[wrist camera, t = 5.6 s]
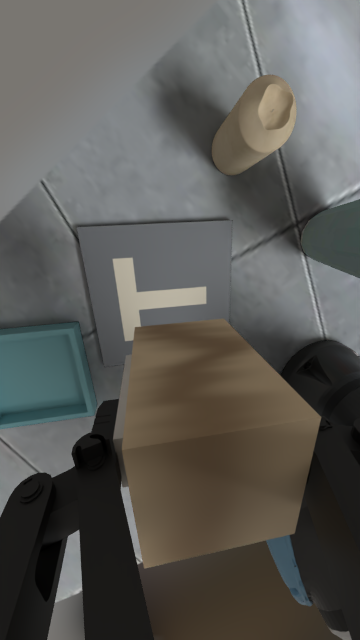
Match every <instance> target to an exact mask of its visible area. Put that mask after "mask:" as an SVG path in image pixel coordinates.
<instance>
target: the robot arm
mask: <svg viewBox="0 0 360 640" xmlns="http://www.w3.org/2000/svg"><path fill="white" fill-rule="evenodd" d="M131 358H132V355H126V358H125V365H124V371H123V378H122V384H121V391H120V397H119V399H115V400H108V401H103V403H102V404H101V405H100V407H99V408H98V410H97V414H96V418H95V421H94V425H93V428H92V432H91V433H88V434H86V435H84V436H83V437H81V438H80V439H79V440H78V441H77V442H76V444H75V445H74V447H73V449H72V457H73V460H74V463H75V466H74V467H73V468H72V469H70V470H68V471H66V472H64V473H62V474H60V475H57V476H55V477H53V478H52V477H51V475H49V474H47V473H37V474H34V475H32V476H30V477H28V478H27V479H25V480H24V481H22V482H21V483H20V484H19V485H18V486H17V487H16V488H15V489H14V491H13V492H12V494H11V496H10V497H9V499H8V502H7V504H6V506H5V508H4V510H3V513H2V515H1V517H0V640H47V637H48V632H49V627H50V622H51V617H52V613H53V608H54V603H55V598H56V593H57V588H58V583H59V578H60V573H61V568H62V563H63V558H64V553H65V548H66V543H67V538H68V536H69V535H71V534H72V533H74V532H76V531H77V530H79V531H80V551H81V570H82V590H83V610H84V629H85V640H154V637H153V633H152V629H151V624H150V620H149V615H148V611H147V606H146V602H145V597H144V593H143V588H142V584H141V579H140V575H139V571H138V567H137V562H136V557H135V553H134V548H133V544H132V539H131V535H130V530H129V526H128V522H127V517H126V513H125V508H124V504H123V499H122V495H121V490H120V489H121V482H122V486H123V487H127V486H128V481H127V475H126V470H125V465H124V459H123V454H122V442H123V433H124V424H125V414H126V405H127V396H128V386H129V377H130V367H131ZM281 377H282V378H283V379H284V380H285V381H286V382H287V383H288V384H289V385H290V386H291V387H292V388H293V389H294V390H295V391H296V392H297V393H298V394H299V395H300V396H301V397H302V398H303V399H304V400H305V401H306V402H307V403H308V404H309V405H310V406H311V407H312V408H313V409H314V410H315V411H316V412H317V413H318V414H319V415H320V416H321V421H320V425H319V429H318V434H317V438H316V443H315V447H314V451H313V456H312V460H311V464H310V469H309V473H308V477H307V482H306V486H305V490H304V495H303V499H302V503H301V508H300V512H299V517H298V521H297V525H296V530H295V534H291V535H287V536H282V537H278V538H274V539H269V540H266V541H267V544H268V546H269V549H270V551H271V554H272V556H273V559H274V561H275V563H276V565H277V568H278V570H279V572H280V574H281V576H282V578H283V580H284V582H285V583H286V585H287V586H288V587H289V589H290V591H291V594H292V595H293V596H294V598H295V599H296V600H297V602H299V603H300V604H302V605H308V606H311V605H312V604H313V602H314V603H315V604H316V606H317V607H318V609H319V611H320V613H321V615H322V617H323V618H324V620H325V622H326V624H327V625H328V628H329V629H330V631H331V632H332V633H333V634H335V635H337V636H338V637H340V638H342V639H343V640H360V357H359V355H358V354H357V353H356V352H355V351H353V350H352V349H350V348H349V347H347V346H345V345H343V344H341V343H339V342H335V341H320V342H316V343H313V344H311V345H309V346H307V347H305V348H303V349H302V350H300V351H299V352H298V353H297V354H295V355H294V356H293V357H292V358H291V360H290V361H289V362H288V363H287V365H286V366H285V368H284V370H283V372H282V375H281Z"/></svg>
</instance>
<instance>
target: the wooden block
mask: <svg viewBox="0 0 360 640" xmlns="http://www.w3.org/2000/svg"><path fill="white" fill-rule="evenodd" d="M320 421H321V416H320V415H319V414H318V413H317V412H316V411H315V410H314V409H313V408H312V407H311V406H310V405H309V404H308V403H307V402H306V401H305V400H304V399H303V398H302V397H301V396H300V395H299V394H298V393H297V392H296V391H295V390H294V389H293V388H292V387H291V386H290V385H289V384H288V383H287V382H286V381H285V380H284V379H283V378H282V377H281V376H280V375H279V374H278V373H277V372H276V371H275V370H274V369H273V368H272V367H271V366H270V365H269V364H268V363H267V362H266V361H265V360H264V359H263V358H262V357H261V356H260V355H259V354H258V353H257V352H256V351H255V350H254V349H253V348H252V347H251V346H250V345H249V344H248V342H247V341H246V340H245V339H244V338H243V337H242V336H241V335H240V334H239V333H238V332H237V331H236V330H235V329H234V328H233V327H232V326H231V325H230V324H229V323H228V322H227V321H226V320H225V319H213V320H203V321H193V322H183V323H172V324H162V325H152V326H142V327H135V330H134V339H133V349H132V358H131V367H130V377H129V386H128V396H127V405H126V414H125V424H124V433H123V442H122V454H123V459H124V465H125V470H126V475H127V481H128V486H129V491H130V496H131V502H132V507H133V512H134V517H135V523H136V528H137V533H138V539H139V544H140V549H141V554H142V560H143V565H144V568H148V567H153V566H157V565H161V564H166V563H170V562H174V561H179V560H183V559H187V558H192V557H196V556H200V555H204V554H209V553H213V552H218V551H222V550H226V549H230V548H235V547H239V546H243V545H248V544H252V543H256V542H261V541H265V540H269V539H274V538H278V537H282V536H287V535H291V534H295V530H296V525H297V521H298V517H299V512H300V508H301V503H302V499H303V495H304V490H305V486H306V482H307V477H308V473H309V469H310V464H311V460H312V456H313V451H314V447H315V443H316V438H317V434H318V429H319V425H320Z"/></svg>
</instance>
